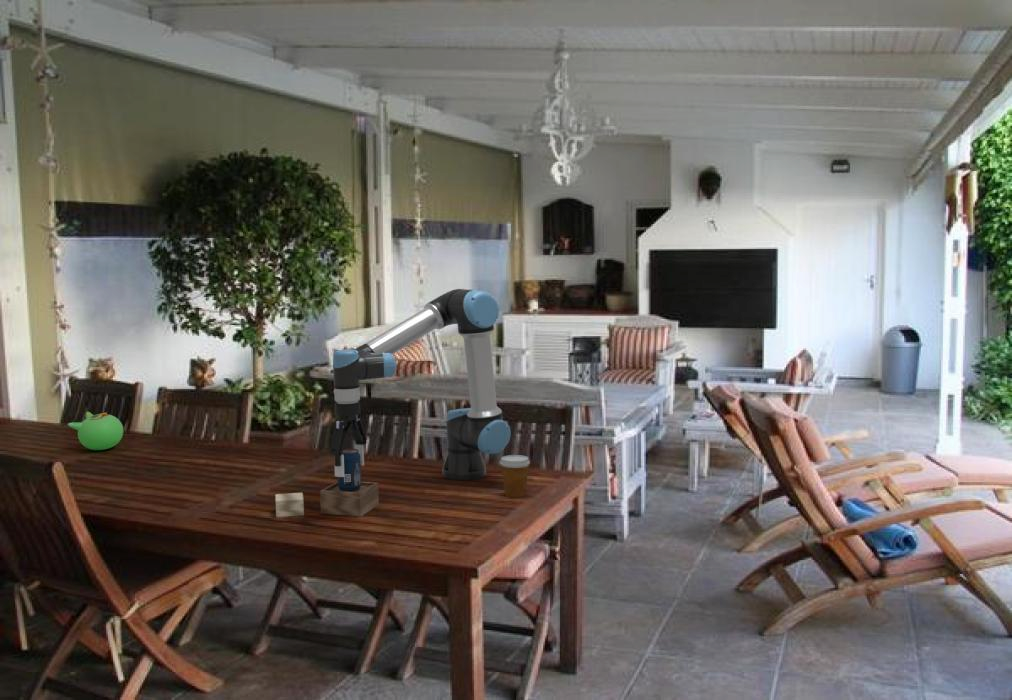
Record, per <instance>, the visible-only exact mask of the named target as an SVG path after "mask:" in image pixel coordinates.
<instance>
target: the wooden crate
mask: <svg viewBox="0 0 1012 700" xmlns="http://www.w3.org/2000/svg"><path fill="white" fill-rule="evenodd" d="M319 498H320V499H319V500H320V501H319V502H320V514H322V515H323V514H324V515H325V514H327V515H337V516H347V517H351V516H352V517H360V518H361V517H362V516H364V515H366V514H367V513H369V512H370V511H371V510H373V509H374V508H376V507H378V506H379V503H380V502H379V482H374V481H373V482H371V481H361V487H360V488H359V490H357V491H354V492H343V491H341V490H340V489H339V487H338V480H337V481H335V482H333V483H332V484H330V485H328V486H326V487H325V488H322V489H321V490H319Z"/></svg>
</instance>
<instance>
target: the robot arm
mask: <svg viewBox="0 0 1012 700" xmlns="http://www.w3.org/2000/svg"><path fill="white" fill-rule="evenodd" d="M499 309H500V308H499V304H498V302H497V300H496V298H495V297H494V296H493V295H492V294H491V293H489V292H487V291H484V290H480V289H464V288H456V289H452V290H449V291H447V292H445V293H443V294H441V295H440V296H437V297H436V298H434V299H433V300H431V301H429V302H428V303H426V304H424V308H423V309H422V310H420V311H418V312H417V313H414V314H413V315H412V316H411V315H410V316H409V317H408V318H406V319H404V320H403V321H401V322H399V323H398V324H396V325H394V326H392V327H390V328H389V329H388V330H385V331H384V332H382V333H381V334H379V335H376V337H373V338H372V339H370V340H369V341H367V342H365V343H363V344H362V345H360V346H358V347H356V348H347V349H339V350H338V349H337V350H335V351H334V352H333V355H332V369H333V370H332V371H333V389H334V390H333V394H334V402H335V403H334V414H335V416H338V417H339V419H338V420H339V421H338V420H337V421H336V420H335V421H333V432H332V438H331V444H330V450H329V455H331V456H333V457H334V458H333V461H334V477H336V478H338V477H344V455H342V452H343V449H345V445H346V441H347V438H348V436H349V435H351V436H352V438H353V441H354V442H355V444H354V445H353V449H357V450H358V452H359V454H360V458H361V467H364V466H365V454H364V449H365V448H364V445H367V443H368V442H367V440H368V439H367V438H368V437H367V435H366V430H365V427H364V423H363V419H362V414H361V402H360V400H361V395H360V394H361V393H360V381H366V380H377V379H386V378H391V377H392V376H394V375H395V373H396V371H397V362H396V359H395V356H394V354H396V353H397V352H399V351H400V350H403V349H404V348H406V347H407V346H409V345H411V344H412V343H414V342H416V341H417V340H419V339H421V338H422V337H424V336H426V335H428V334H430V333H431V332H432V331H435V330H442V329H444V328H445V327H447V326H451V325H457V332H458V335H459V336H461V337H462V338H463V343H464V353H465V364H466V372H467V382H468V392H469V402H470V403H469V404H470V407H467V408H457V409H451V410H448V411H447V414H446V421H445V423H446V455H445V459H444V462H443V466H442V469H441V471H442V474H441V475H442V477H444V478H446V479H449V480H459V481H463V480H464V481H469V480H477V479H480V478H484V477H485V476H486V475H487V467H486V464H485V460H484V458H483V455H482V454H489V455H496V454H498V453H501V452H502V451H503V450H504V449H505V448H506V446H507V445H508V444H509V442H510V439H511V427H510V426H509V424H508V423H507V422H506V421H505V420H503V418H504V417H503V411H502V409H501V408H500V407H498V405H497V394H496V385H495V384H496V383H495V374H494V364H493V353H492V344H491V335H492V333H493V332H494V330H495V328H494V324H495V323H496V322H497V319H498V318H499V313H500V310H499Z"/></svg>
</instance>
